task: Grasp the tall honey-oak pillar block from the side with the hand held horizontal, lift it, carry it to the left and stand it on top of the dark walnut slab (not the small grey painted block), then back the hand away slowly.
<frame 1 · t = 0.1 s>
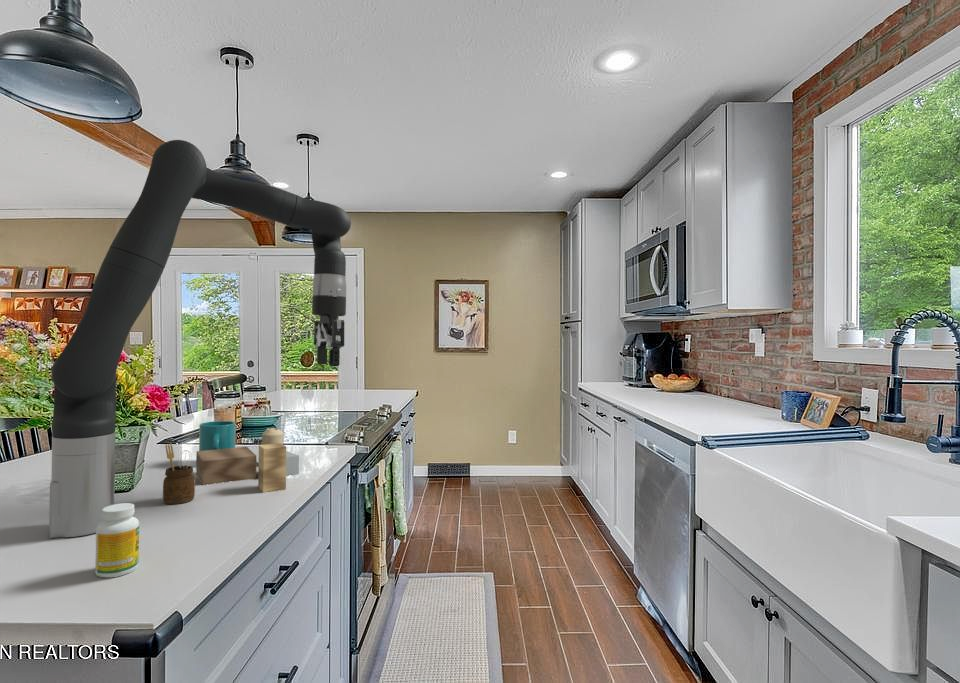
hand: (327, 365, 121), 29 cm above the counter, tool pointing down, fingers open, 8 cm apart
utensil holder: (178, 501, 113), on the counter
walnut block: (225, 477, 134), on the counter
candle: (272, 464, 147), on the counter
cup: (216, 465, 145), on the counter
supplement bottle: (117, 572, 79), on the counter
grey block: (279, 474, 137), on the counter
oak pillar: (272, 488, 123), on the counter
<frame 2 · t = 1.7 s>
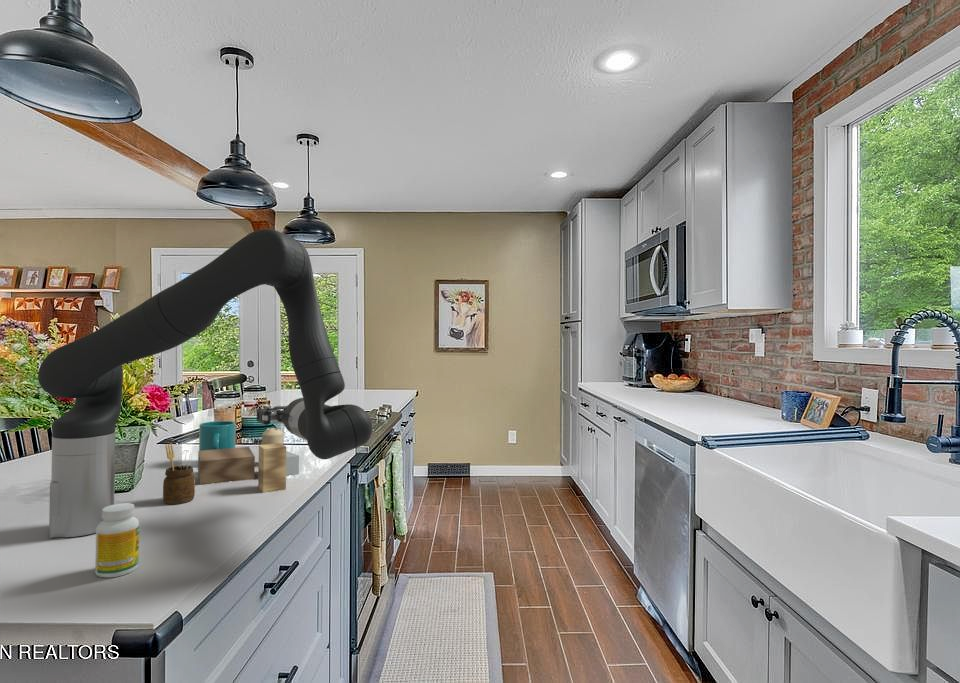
hand: (286, 409, 114), 20 cm above the counter, tool horizontal, fingers open, 8 cm apart
nothing on the counter moved.
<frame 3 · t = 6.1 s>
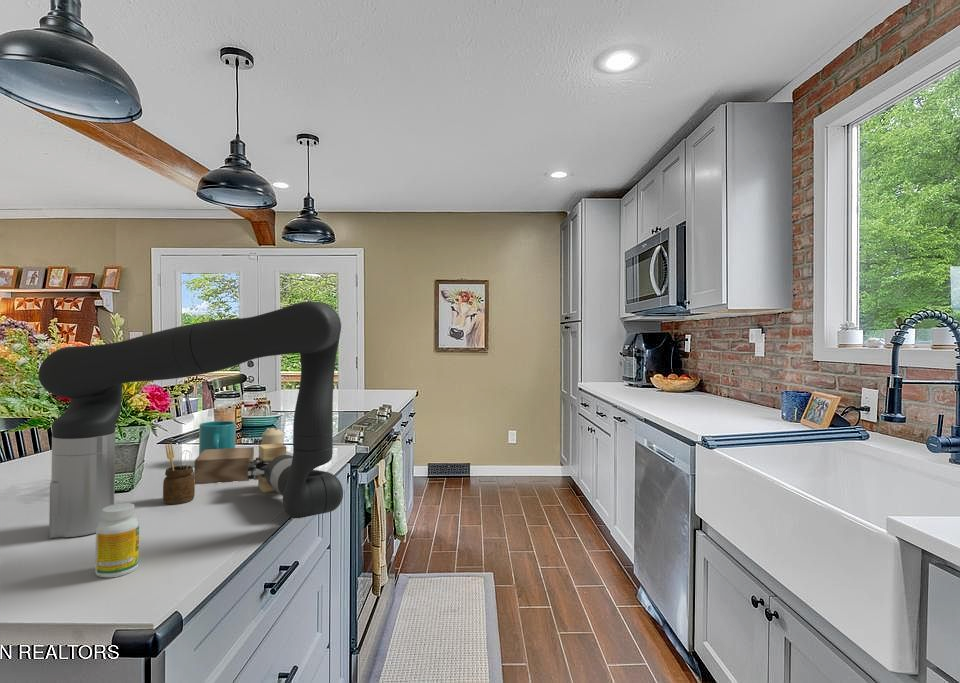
hand: (269, 460, 125), 6 cm above the counter, tool horizontal, fingers closed on oak pillar, 5 cm apart
oak pillar: (271, 488, 123), on the counter, touching gripper
when the fingers open (13 cm above the counter, at t = 11.1 s): oak pillar stays where it is, resting on walnut block.
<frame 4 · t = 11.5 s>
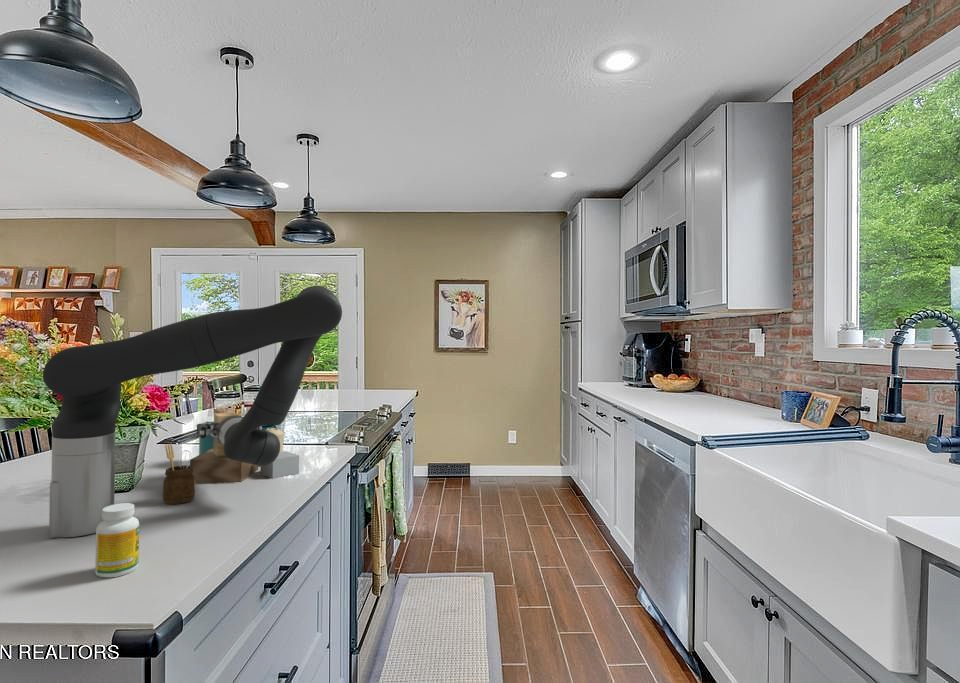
hand: (225, 424, 135), 13 cm above the counter, tool horizontal, fingers open, 8 cm apart
walnut block: (225, 477, 134), on the counter, touching oak pillar
oak pillar: (226, 453, 134), point 6 cm above the counter, touching walnut block
everything else where it was.
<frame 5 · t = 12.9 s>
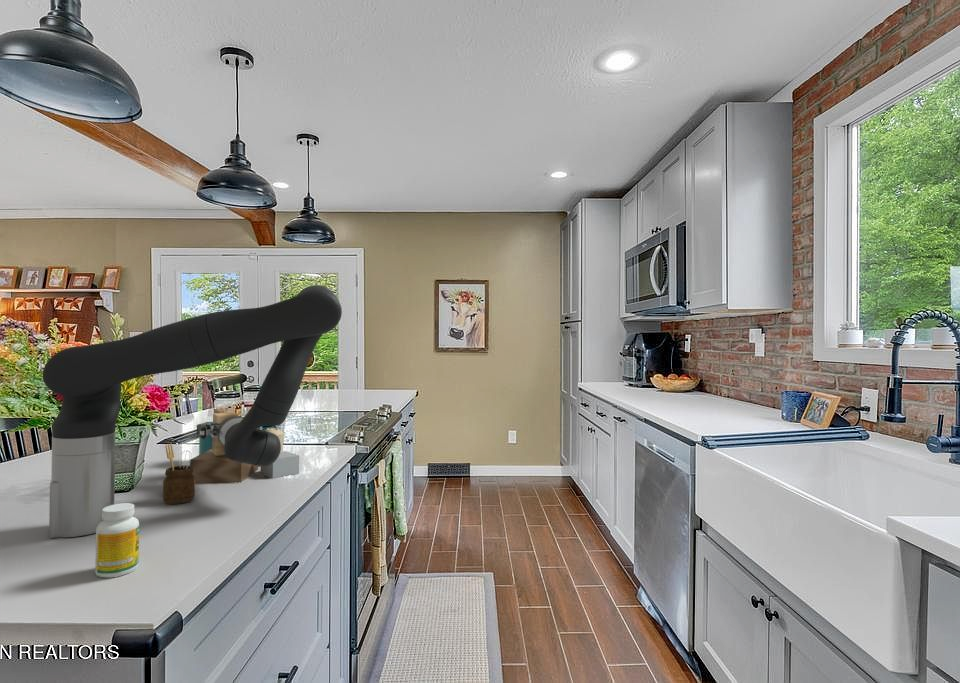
hand: (225, 424, 135), 13 cm above the counter, tool horizontal, fingers open, 8 cm apart
nothing on the counter moved.
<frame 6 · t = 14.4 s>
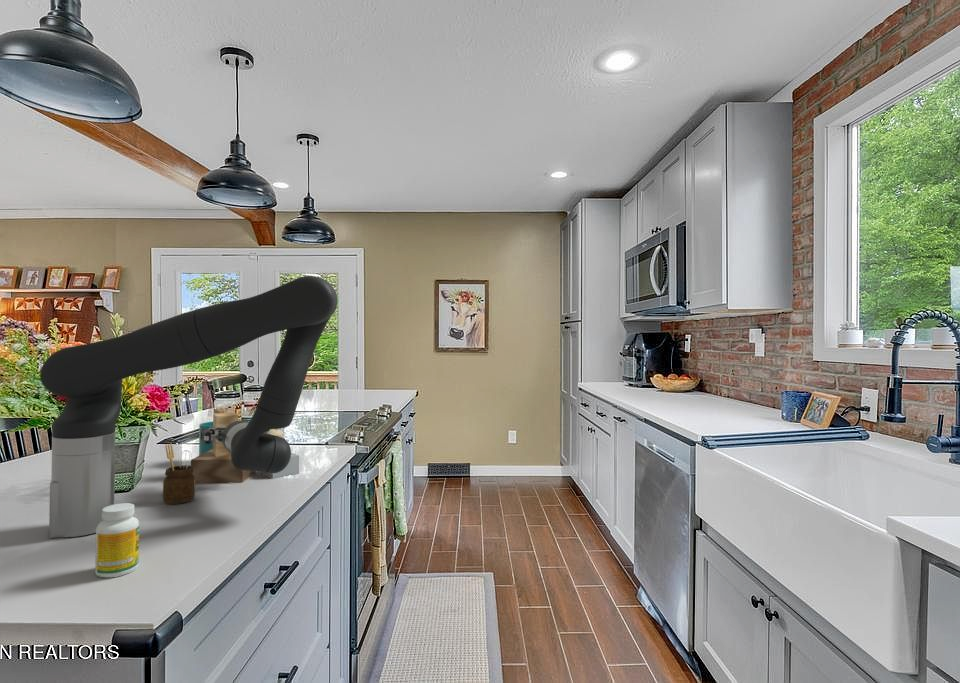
hand: (230, 429, 129), 13 cm above the counter, tool horizontal, fingers open, 8 cm apart
walnut block: (226, 477, 134), on the counter
oak pillar: (225, 453, 134), point 6 cm above the counter
everything else where it was.
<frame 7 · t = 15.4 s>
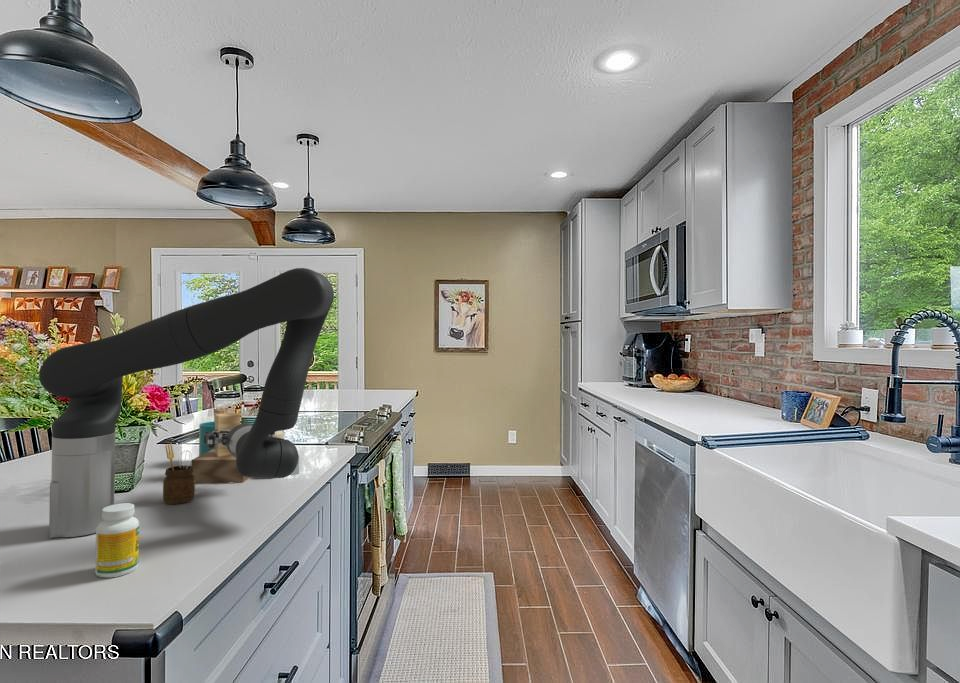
hand: (234, 432, 125), 13 cm above the counter, tool horizontal, fingers open, 8 cm apart
nothing on the counter moved.
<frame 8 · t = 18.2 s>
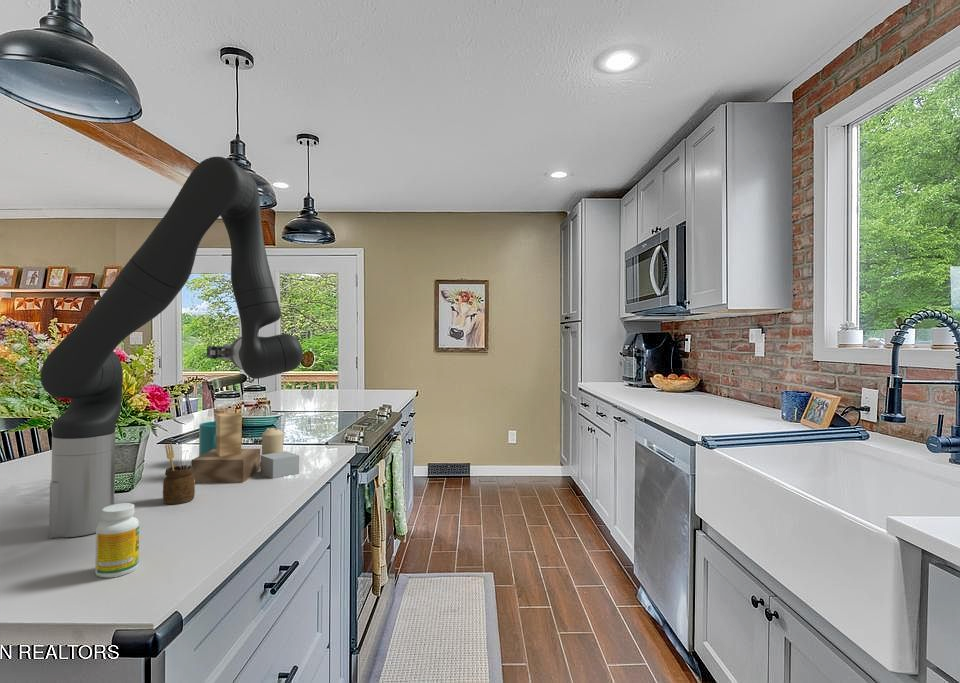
hand: (237, 351, 123), 32 cm above the counter, tool horizontal, fingers open, 8 cm apart
walnut block: (227, 477, 134), on the counter, touching oak pillar
oak pillar: (228, 453, 134), point 6 cm above the counter, touching walnut block
everything else where it was.
at the end: oak pillar inside the target area on the walnut block (0.3 cm from its centre), point 6.0 cm above the walnut block's base; oak pillar tilted 1°; the gripper is holding nothing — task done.
